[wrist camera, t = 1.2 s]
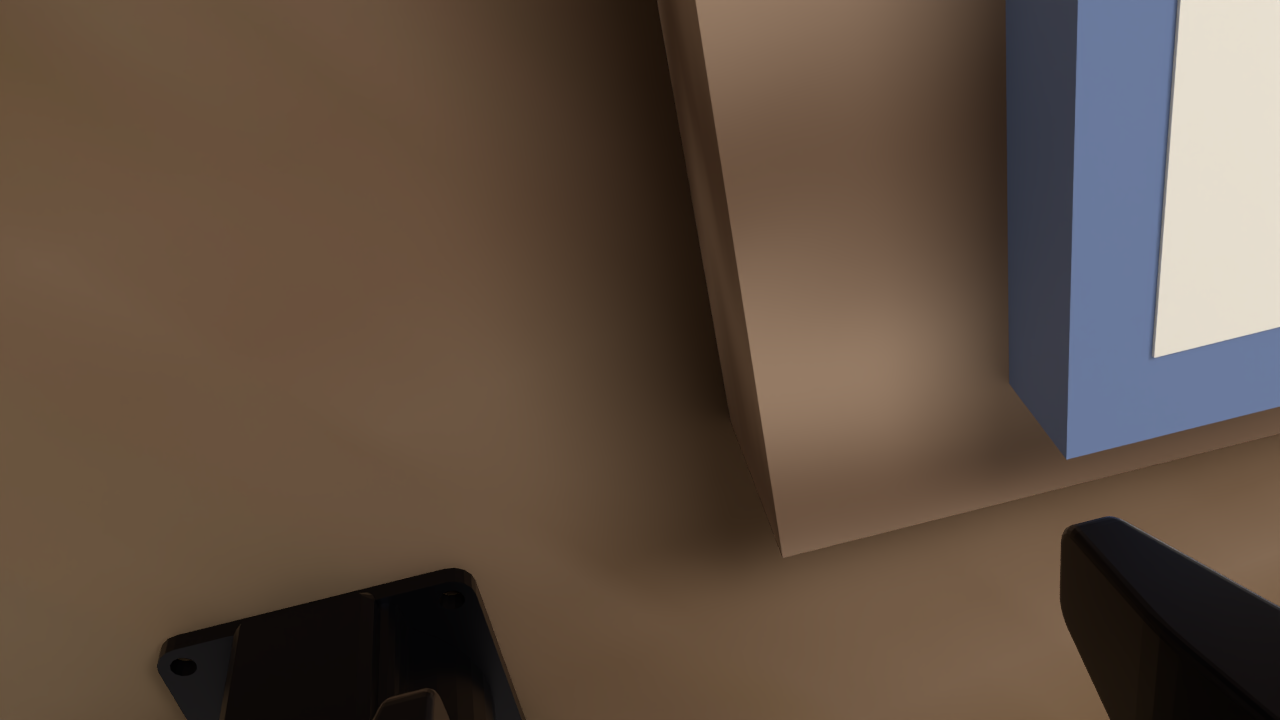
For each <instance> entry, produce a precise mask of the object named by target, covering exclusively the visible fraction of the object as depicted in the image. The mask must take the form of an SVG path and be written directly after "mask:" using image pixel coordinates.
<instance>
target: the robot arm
mask: <svg viewBox="0 0 1280 720" xmlns="http://www.w3.org/2000/svg"><path fill="white" fill-rule="evenodd" d="M448 591H458V592H460V593H459V594H457V595H452V596H448V595H445V594H443V593H446V592H448ZM1060 604H1061V609H1062V613H1063V617H1064V620H1065V623H1066V625H1067V628H1068V630H1069V632H1070V634H1071V637H1072V639H1073V641H1074V643H1075V645H1076V647H1077V649H1078V652H1079V654H1080V656H1081V658H1082V660H1083V662H1084V665H1085V667H1086V669H1087V671H1088V673H1089V675H1090V677H1091V680H1092V682H1093V684H1094V686H1095V688H1096V690H1097V692H1098V695H1099V697H1100V699H1101V701H1102V703H1103V705H1104V708H1105V710H1106V712H1107V714H1108V716H1109V718H1110V720H1280V607H1279V606H1277V605H1275V604H1274V603H1272V602H1270V601H1268V600H1266V599H1265V598H1263V597H1261V596H1259V595H1257V594H1256V593H1254V592H1252V591H1250V590H1248V589H1247V588H1245V587H1243V586H1241V585H1239V584H1238V583H1236V582H1234V581H1232V580H1230V579H1229V578H1227V577H1225V576H1223V575H1221V574H1220V573H1218V572H1216V571H1214V570H1212V569H1211V568H1209V567H1207V566H1205V565H1203V564H1202V563H1200V562H1198V561H1196V560H1194V559H1193V558H1191V557H1189V556H1187V555H1185V554H1184V553H1182V552H1180V551H1178V550H1176V549H1175V548H1173V547H1171V546H1169V545H1167V544H1166V543H1164V542H1162V541H1160V540H1158V539H1157V538H1155V537H1153V536H1151V535H1149V534H1148V533H1146V532H1144V531H1142V530H1140V529H1139V528H1137V527H1135V526H1133V525H1131V524H1130V523H1128V522H1126V521H1124V520H1122V519H1120V518H1116V517H1110V516H1108V517H1103V518H1099V519H1095V520H1091V521H1087V522H1083V523H1079V524H1075V525H1071V526H1069V527H1068V528H1066V529H1065V530H1064V532H1063V535H1062V539H1061V565H1060ZM178 658H188V659H191V660H192V661H182V660H179V659H178ZM157 668H158V671H159V674H160V676H161V677H162V679H163V681H164V682H165V684H166V686H167V687H168V689H169V690H170V692H171V694H172V695H173V697H174V699H175V700H176V702H177V704H178V705H179V707H180V709H181V710H182V712H183V714H184V715H185V717H186V719H187V720H526V719H525V717H524V714H523V711H522V708H521V706H520V703H519V700H518V697H517V694H516V692H515V689H514V686H513V683H512V681H511V678H510V675H509V672H508V670H507V667H506V664H505V661H504V658H503V656H502V653H501V650H500V647H499V645H498V642H497V639H496V636H495V634H494V631H493V628H492V625H491V622H490V620H489V617H488V614H487V611H486V609H485V606H484V603H483V600H482V597H481V595H480V592H479V589H478V586H477V584H476V581H475V579H474V578H473V576H472V575H471V574H470V573H468V572H467V571H465V570H462V569H457V568H449V569H443V570H439V571H434V572H430V573H426V574H422V575H418V576H414V577H410V578H406V579H402V580H398V581H394V582H390V583H386V584H382V585H378V586H374V587H370V588H366V589H362V590H358V591H354V592H350V593H346V594H342V595H338V596H334V597H330V598H326V599H322V600H318V601H314V602H310V603H305V604H301V605H297V606H293V607H289V608H285V609H281V610H277V611H273V612H269V613H265V614H261V615H257V616H253V617H249V618H245V619H241V620H237V621H233V622H229V623H225V624H221V625H217V626H213V627H209V628H205V629H201V630H197V631H193V632H189V633H185V634H181V635H177V636H174V637H172V638H170V639H168V640H167V641H166V642H165V643H164V644H163V645H162V648H161V652H160V656H159V660H158V664H157Z"/></svg>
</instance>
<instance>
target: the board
mask: <svg viewBox="0 0 1280 720" xmlns="http://www.w3.org/2000/svg"><path fill="white" fill-rule="evenodd" d="M657 4H658V10H659V15H660V21H661V27H662V32H663V38H664V44H665V50H666V55H667V61H668V67H669V72H670V78H671V84H672V90H673V95H674V101H675V107H676V113H677V118H678V124H679V130H680V135H681V141H682V147H683V153H684V158H685V164H686V170H687V175H688V181H689V187H690V193H691V198H692V204H693V210H694V215H695V221H696V227H697V233H698V238H699V244H700V250H701V255H702V261H703V267H704V273H705V278H706V284H707V290H708V295H709V301H710V307H711V313H712V318H713V324H714V330H715V335H716V341H717V347H718V353H719V358H720V364H721V370H722V375H723V381H724V387H725V393H726V398H727V404H728V410H729V415H730V421H731V424H732V427H733V429H734V432H735V434H736V437H737V440H738V442H739V445H740V448H741V450H742V453H743V455H744V458H745V461H746V463H747V466H748V468H749V471H750V474H751V476H752V479H753V481H754V484H755V487H756V489H757V492H758V495H759V497H760V500H761V502H762V505H763V508H764V510H765V513H766V515H767V518H768V521H769V523H770V526H771V528H772V531H773V534H774V536H775V539H776V542H777V544H778V547H779V549H780V552H781V555H782V557H783V558H785V557H789V556H793V555H797V554H801V553H805V552H809V551H813V550H817V549H821V548H825V547H829V546H833V545H837V544H841V543H845V542H849V541H853V540H857V539H861V538H865V537H869V536H873V535H877V534H881V533H885V532H889V531H893V530H897V529H901V528H905V527H909V526H913V525H917V524H921V523H925V522H929V521H933V520H937V519H941V518H945V517H949V516H953V515H957V514H961V513H965V512H969V511H973V510H977V509H981V508H985V507H989V506H993V505H997V504H1001V503H1005V502H1009V501H1013V500H1017V499H1021V498H1025V497H1029V496H1033V495H1037V494H1041V493H1045V492H1049V491H1053V490H1057V489H1061V488H1065V487H1069V486H1073V485H1077V484H1081V483H1085V482H1089V481H1093V480H1097V479H1101V478H1105V477H1109V476H1113V475H1117V474H1121V473H1125V472H1129V471H1133V470H1137V469H1141V468H1145V467H1149V466H1153V465H1157V464H1161V463H1165V462H1169V461H1173V460H1177V459H1181V458H1185V457H1189V456H1193V455H1197V454H1201V453H1205V452H1209V451H1213V450H1217V449H1221V448H1225V447H1229V446H1233V445H1237V444H1241V443H1245V442H1249V441H1253V440H1257V439H1261V438H1265V437H1269V436H1273V435H1277V434H1280V407H1276V408H1272V409H1268V410H1264V411H1259V412H1255V413H1251V414H1247V415H1243V416H1239V417H1235V418H1231V419H1227V420H1223V421H1219V422H1215V423H1211V424H1207V425H1203V426H1199V427H1195V428H1191V429H1187V430H1183V431H1179V432H1175V433H1171V434H1167V435H1163V436H1159V437H1155V438H1151V439H1147V440H1143V441H1139V442H1135V443H1131V444H1127V445H1123V446H1119V447H1115V448H1111V449H1107V450H1103V451H1099V452H1095V453H1091V454H1087V455H1083V456H1079V457H1075V458H1071V459H1067V460H1066V458H1065V457H1064V456H1063V454H1062V453H1061V452H1060V450H1059V449H1058V448H1057V446H1056V445H1055V444H1054V442H1053V441H1052V440H1051V439H1050V437H1049V436H1048V435H1047V433H1046V432H1045V431H1044V429H1043V428H1042V427H1041V425H1040V424H1039V423H1038V421H1037V420H1036V419H1035V417H1034V416H1033V415H1032V413H1031V412H1030V411H1029V409H1028V408H1027V407H1026V405H1025V404H1024V403H1023V401H1022V400H1021V399H1020V397H1019V396H1018V395H1017V393H1016V392H1015V391H1014V389H1013V388H1012V387H1011V385H1010V384H1009V319H1008V210H1007V101H1006V0H657Z"/></svg>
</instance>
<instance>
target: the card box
mask: <svg viewBox="0 0 1280 720" xmlns="http://www.w3.org/2000/svg"><path fill="white" fill-rule="evenodd" d="M1006 101H1007V210H1008V319H1009V384H1010V385H1011V387H1012V388H1013V389H1014V391H1015V392H1016V393H1017V395H1018V396H1019V397H1020V399H1021V400H1022V401H1023V403H1024V404H1025V405H1026V407H1027V408H1028V409H1029V411H1030V412H1031V413H1032V415H1033V416H1034V417H1035V419H1036V420H1037V421H1038V423H1039V424H1040V425H1041V427H1042V428H1043V429H1044V431H1045V432H1046V433H1047V435H1048V436H1049V437H1050V439H1051V440H1052V441H1053V442H1054V444H1055V445H1056V446H1057V448H1058V449H1059V450H1060V452H1061V453H1062V454H1063V456H1064V457H1065V458H1066V460H1067V459H1071V458H1075V457H1079V456H1083V455H1087V454H1091V453H1095V452H1099V451H1103V450H1107V449H1111V448H1115V447H1119V446H1123V445H1127V444H1131V443H1135V442H1139V441H1143V440H1147V439H1151V438H1155V437H1159V436H1163V435H1167V434H1171V433H1175V432H1179V431H1183V430H1187V429H1191V428H1195V427H1199V426H1203V425H1207V424H1211V423H1215V422H1219V421H1223V420H1227V419H1231V418H1235V417H1239V416H1243V415H1247V414H1251V413H1255V412H1259V411H1264V410H1268V409H1272V408H1276V407H1280V0H1006Z"/></svg>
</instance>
